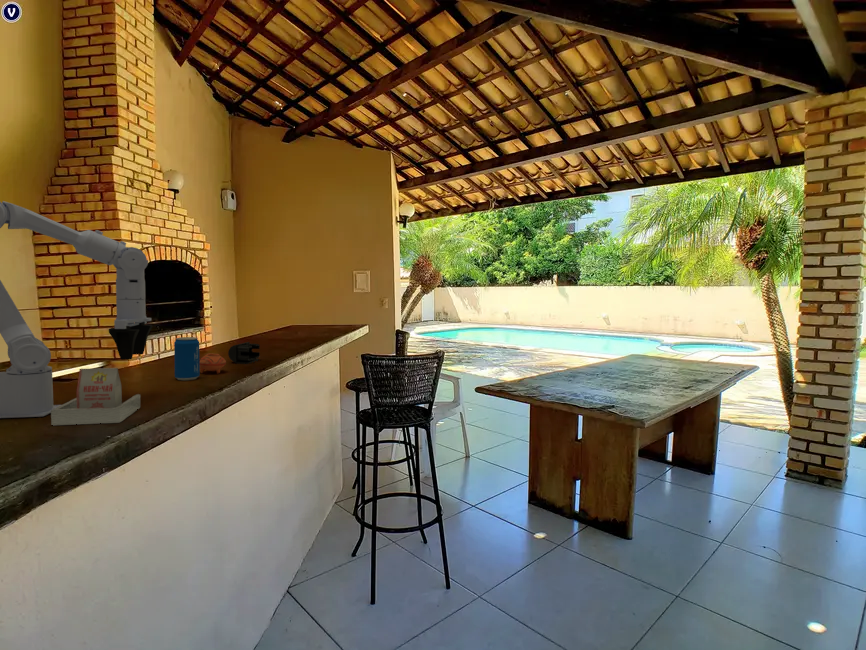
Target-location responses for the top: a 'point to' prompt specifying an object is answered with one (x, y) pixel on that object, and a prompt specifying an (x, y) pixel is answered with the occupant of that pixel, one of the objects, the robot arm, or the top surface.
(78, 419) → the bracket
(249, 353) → the end cap
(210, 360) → the pot
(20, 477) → the top surface
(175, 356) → the beverage can
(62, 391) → the top surface
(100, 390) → the tea bag
